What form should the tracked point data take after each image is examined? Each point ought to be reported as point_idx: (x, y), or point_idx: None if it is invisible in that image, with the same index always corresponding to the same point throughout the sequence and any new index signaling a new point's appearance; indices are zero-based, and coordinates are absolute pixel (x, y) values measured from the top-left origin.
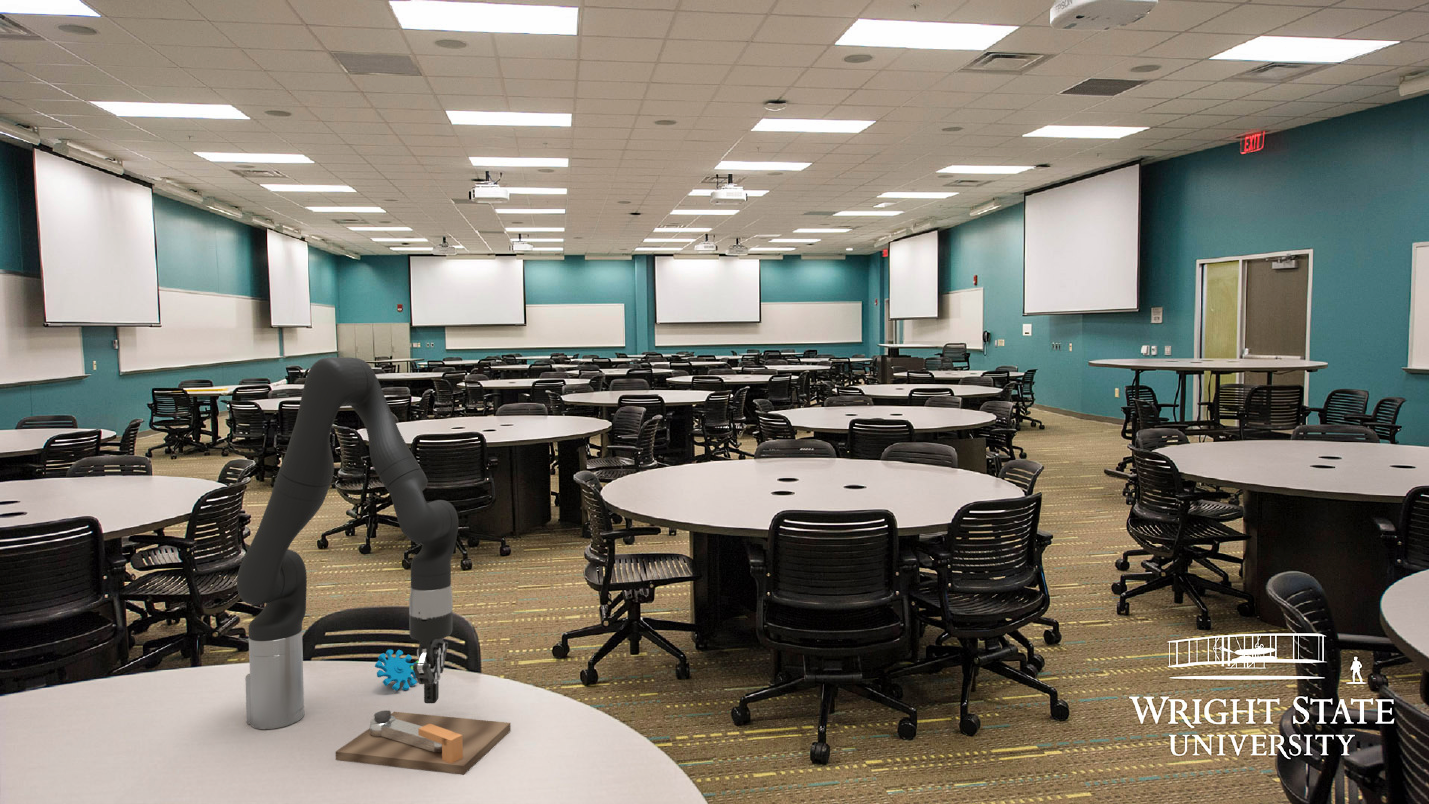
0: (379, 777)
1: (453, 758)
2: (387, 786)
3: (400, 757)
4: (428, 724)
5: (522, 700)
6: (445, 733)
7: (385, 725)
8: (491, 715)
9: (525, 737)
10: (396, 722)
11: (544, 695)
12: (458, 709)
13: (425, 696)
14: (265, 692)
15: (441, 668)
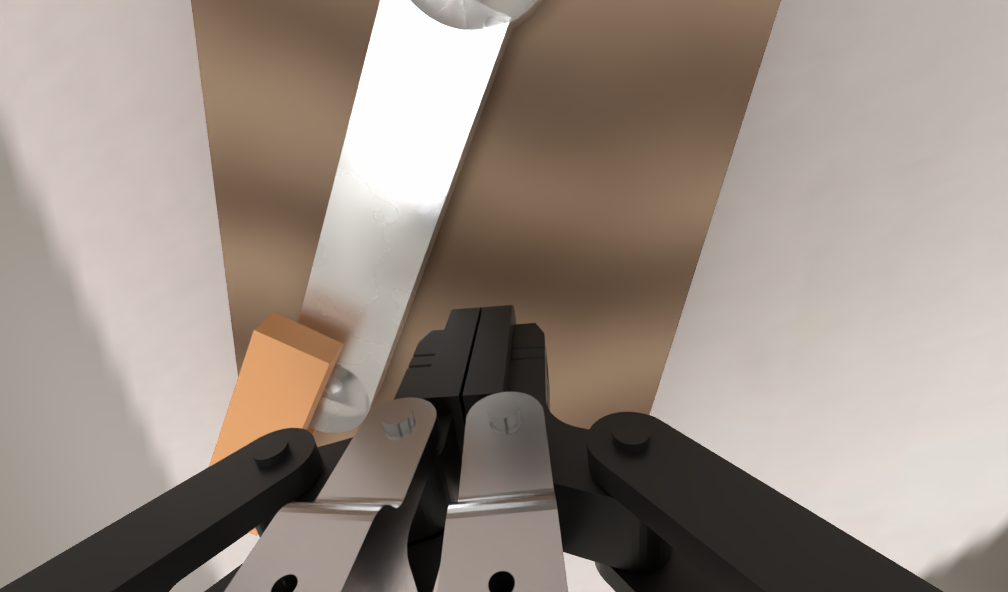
0: (141, 166)
1: None
2: (98, 237)
3: (231, 222)
4: (314, 362)
5: (921, 478)
6: None
7: (393, 4)
8: (769, 405)
9: None
10: (452, 64)
11: (955, 540)
12: (882, 232)
13: (413, 358)
14: None
15: (609, 582)
